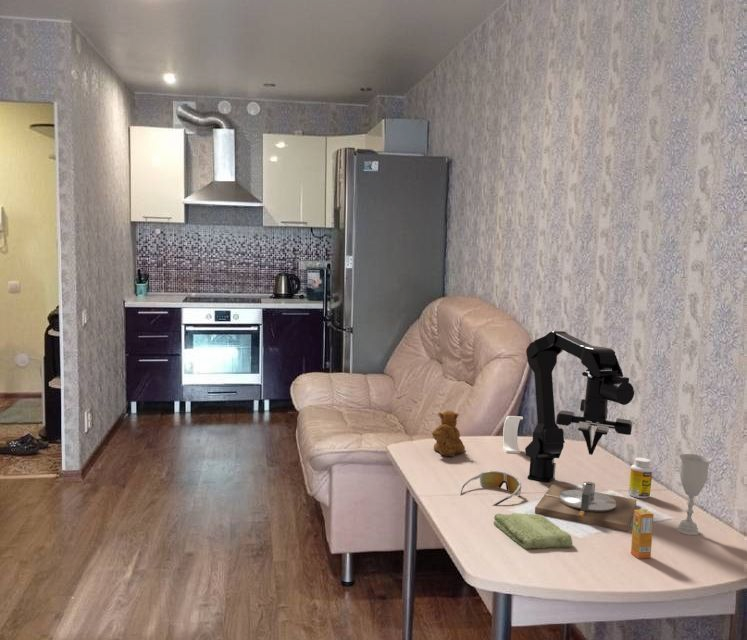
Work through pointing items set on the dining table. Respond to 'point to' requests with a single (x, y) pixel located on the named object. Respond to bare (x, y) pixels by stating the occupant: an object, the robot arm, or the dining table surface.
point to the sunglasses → (498, 482)
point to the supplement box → (642, 534)
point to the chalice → (692, 486)
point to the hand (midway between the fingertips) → (590, 454)
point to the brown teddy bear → (448, 435)
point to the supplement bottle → (640, 478)
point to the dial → (587, 499)
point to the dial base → (610, 519)
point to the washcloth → (532, 531)
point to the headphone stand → (511, 434)
